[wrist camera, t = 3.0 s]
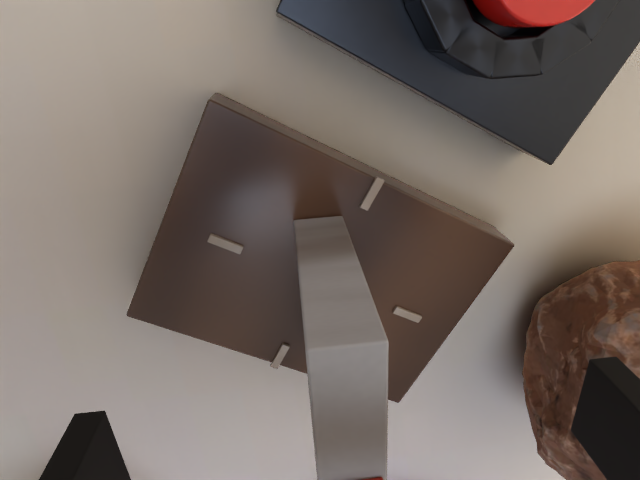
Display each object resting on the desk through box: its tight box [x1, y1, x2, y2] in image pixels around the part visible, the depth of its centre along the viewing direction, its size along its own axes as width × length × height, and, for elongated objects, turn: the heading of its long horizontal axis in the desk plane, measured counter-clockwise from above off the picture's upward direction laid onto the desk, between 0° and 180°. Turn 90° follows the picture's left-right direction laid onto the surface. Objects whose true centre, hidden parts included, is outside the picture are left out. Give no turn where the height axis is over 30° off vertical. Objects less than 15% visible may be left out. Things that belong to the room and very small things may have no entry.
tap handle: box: [293, 216, 389, 480], centre depth 15 cm, size 6×2×8 cm, turn 3°
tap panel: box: [127, 93, 514, 403], centre depth 20 cm, size 14×10×2 cm
